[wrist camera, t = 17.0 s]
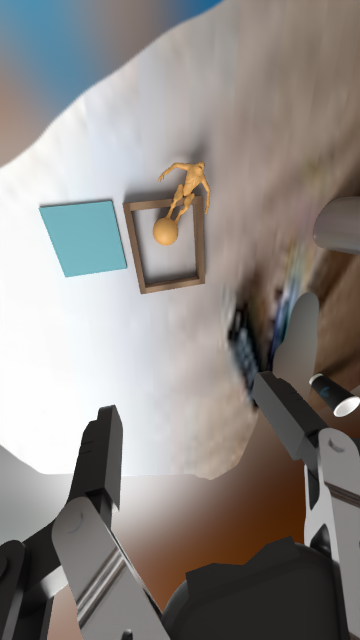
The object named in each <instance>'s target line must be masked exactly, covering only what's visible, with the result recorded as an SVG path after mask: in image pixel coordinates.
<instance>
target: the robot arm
mask: <svg viewBox="0 0 360 640" xmlns="http://www.w3.org/2000/svg"><path fill="white" fill-rule="evenodd" d="M313 238H314V241H315V243H316V244H317V245H318V246H319V247H321V248H324V249H330V250H334V251H340V252H345V253H350V254H355V255H360V196H355V197H340V198H337V199H334V200H333V201H331V202H330V203H328V204H327V205H326V206H325V207H324V209H323V210H322V211H321V212H320V214H319V215H318V218H317V219H316V222H315V225H314V229H313ZM253 396H254V399H255V401H256V403H257V404H258V406H259V407H260V409H261V410H262V412H263V413H264V415H265V417H266V418H267V420H268V421H269V423H270V424H271V426H272V428H273V429H274V431H275V432H276V434H277V435H278V437H279V438H280V440H281V442H282V443H283V444H284V446H285V448H286V449H287V451H288V452H289V454H290V456H291V457H292V459H293V460H298V459H301V458H302V460H303V461H304V463H305V486H306V508H307V513H306V520H305V531H304V536H305V545H303V544H298V543H294V541H293V539H292V537H291V536H289V537H286V538H283V539H280V540H277V541H274V542H272V543H269V544H266V545H265V546H264V547H263V548H262V549H261V550H260V551H259V552H258V553H257V554H256V555H255V556H253V557H252V558H251V559H250V560H249V561H248V562H247V563H246V564H244V565H232V564H218V563H212V564H209V565H207V566H204V567H201V568H198V569H195V570H192V571H189V572H187V573H186V580H185V581H184V582H183V583H182V584H181V585H180V586H179V587H178V588H177V590H176V591H175V592H174V594H173V595H172V597H171V598H170V600H169V602H168V603H167V605H166V608H165V609H164V612H163V614H162V612H161V610H160V609H159V607H158V605H157V604H156V602H155V600H154V599H153V597H152V595H151V594H150V592H149V590H148V589H147V587H146V586H145V584H144V582H143V581H142V579H141V578H140V576H139V575H138V573H137V572H136V570H135V568H134V567H133V565H132V563H131V562H130V560H129V558H128V557H127V555H126V553H125V552H124V550H123V548H122V547H121V545H120V543H119V542H118V540H117V538H116V536H115V535H114V533H113V531H112V530H111V517H112V513H115V512H119V505H120V482H121V463H122V442H123V427H122V422H121V419H120V416H119V414H118V411H117V408H116V406H115V405H111V406H106V407H102V408H100V409H99V411H98V417H97V420H94V421H90V422H89V424H88V425H87V427H86V429H85V430H84V432H83V436H82V440H81V446H80V449H79V456H78V458H77V462H76V467H75V471H74V476H73V480H72V484H71V489H70V493H69V497H68V500H67V502H66V504H65V506H64V508H63V509H62V510H61V511H60V513H59V514H58V516H57V517H56V518H55V519H54V520H53V521H52V522H51V523H50V524H48V525H47V526H46V527H44V528H43V529H41V530H40V531H38V532H37V533H35V534H34V535H33V536H31V537H29V538H28V539H26V540H25V541H23V542H22V543H21V542H20V541H18V540H11V541H8V542H6V543H4V544H2V545H1V546H0V640H47V634H48V629H49V623H50V617H51V611H52V604H53V599H54V595H55V594H56V593H57V592H59V591H60V590H61V589H62V588H63V587H65V586H66V585H67V584H68V583H69V586H70V588H71V591H72V593H73V596H74V599H75V601H76V605H77V609H78V612H77V619H78V623H79V628H80V630H81V634H82V637H83V639H84V640H360V438H351V437H348V436H347V435H345V434H344V433H342V432H340V431H338V430H335V429H332V428H330V427H329V426H328V425H327V424H326V423H325V422H324V421H323V420H322V419H321V418H320V417H319V415H318V414H317V413H316V412H315V411H314V410H313V409H312V408H311V407H310V405H309V404H308V403H307V402H306V401H305V400H303V398H302V397H301V396H300V395H299V393H297V391H296V390H295V389H294V388H293V387H292V386H291V385H290V384H289V383H287V382H286V381H285V380H283V379H281V378H278V379H277V378H276V377H275V376H274V375H273V373H272V372H270V371H265V372H260V373H256V375H255V380H254V387H253Z"/></svg>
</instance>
